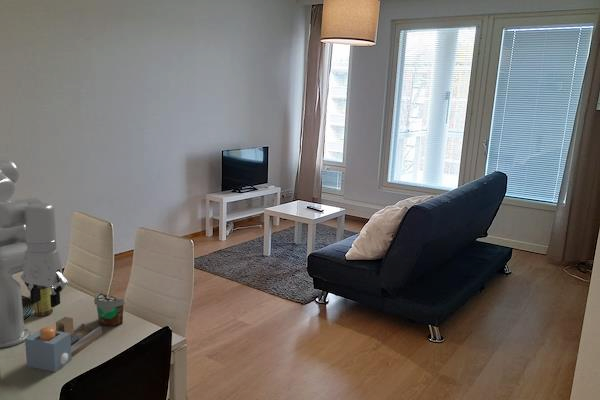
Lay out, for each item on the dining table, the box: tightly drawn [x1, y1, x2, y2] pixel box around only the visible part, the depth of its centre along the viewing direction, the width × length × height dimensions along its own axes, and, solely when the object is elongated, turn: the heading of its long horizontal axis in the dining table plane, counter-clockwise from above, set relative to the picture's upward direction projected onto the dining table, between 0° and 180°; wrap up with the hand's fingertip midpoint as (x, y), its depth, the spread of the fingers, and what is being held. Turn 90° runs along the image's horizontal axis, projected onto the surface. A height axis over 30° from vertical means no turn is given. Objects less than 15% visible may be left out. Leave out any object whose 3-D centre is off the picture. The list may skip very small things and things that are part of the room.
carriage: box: [55, 316, 79, 346], centre depth 153 cm, size 5×6×9 cm
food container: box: [93, 290, 126, 328], centre depth 172 cm, size 12×6×10 cm, turn 62°
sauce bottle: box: [32, 286, 54, 317], centre depth 177 cm, size 7×6×20 cm
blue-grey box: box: [24, 327, 73, 373], centre depth 146 cm, size 10×7×9 cm
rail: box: [71, 323, 103, 358], centre depth 158 cm, size 8×17×3 cm, turn 166°
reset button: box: [39, 326, 56, 341], centre depth 146 cm, size 4×4×4 cm
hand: (45, 303), depth 143 cm, fingers open, 6 cm apart
